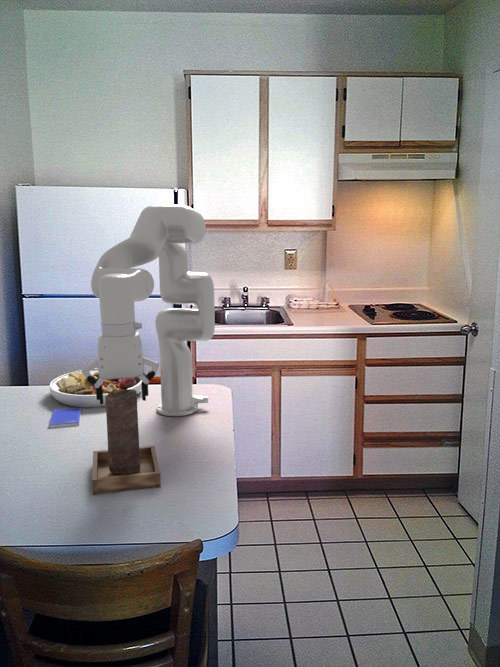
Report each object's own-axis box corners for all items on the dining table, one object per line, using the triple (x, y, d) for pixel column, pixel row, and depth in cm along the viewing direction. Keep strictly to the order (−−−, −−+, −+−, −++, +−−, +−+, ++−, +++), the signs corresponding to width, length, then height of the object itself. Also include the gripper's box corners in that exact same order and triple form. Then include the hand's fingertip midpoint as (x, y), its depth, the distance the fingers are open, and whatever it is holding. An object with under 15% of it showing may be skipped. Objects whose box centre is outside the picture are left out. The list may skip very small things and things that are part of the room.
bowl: (49, 415, 189) (47, 390, 187) (51, 385, 217) (49, 363, 215) (149, 405, 197) (148, 381, 195) (138, 378, 225) (137, 357, 223)
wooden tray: (155, 458, 158) (154, 445, 157) (160, 487, 142) (160, 473, 142) (94, 464, 154) (93, 451, 154) (93, 494, 139) (92, 480, 138)
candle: (133, 480, 144) (129, 398, 139) (103, 477, 145) (99, 396, 141) (145, 466, 151) (141, 387, 147) (116, 463, 153) (112, 385, 148)
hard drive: (78, 422, 179) (81, 407, 191) (49, 424, 178) (53, 409, 190) (79, 427, 180) (81, 412, 192) (49, 429, 178) (53, 414, 190)
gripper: (156, 322, 146) (159, 392, 150) (79, 327, 142) (84, 398, 146) (158, 330, 139) (161, 403, 143) (78, 335, 135) (84, 409, 139)
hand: (122, 400), depth 145 cm, fingers open, 9 cm apart
